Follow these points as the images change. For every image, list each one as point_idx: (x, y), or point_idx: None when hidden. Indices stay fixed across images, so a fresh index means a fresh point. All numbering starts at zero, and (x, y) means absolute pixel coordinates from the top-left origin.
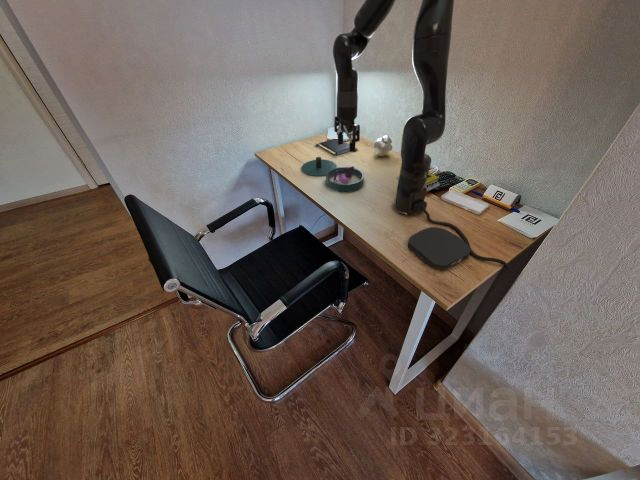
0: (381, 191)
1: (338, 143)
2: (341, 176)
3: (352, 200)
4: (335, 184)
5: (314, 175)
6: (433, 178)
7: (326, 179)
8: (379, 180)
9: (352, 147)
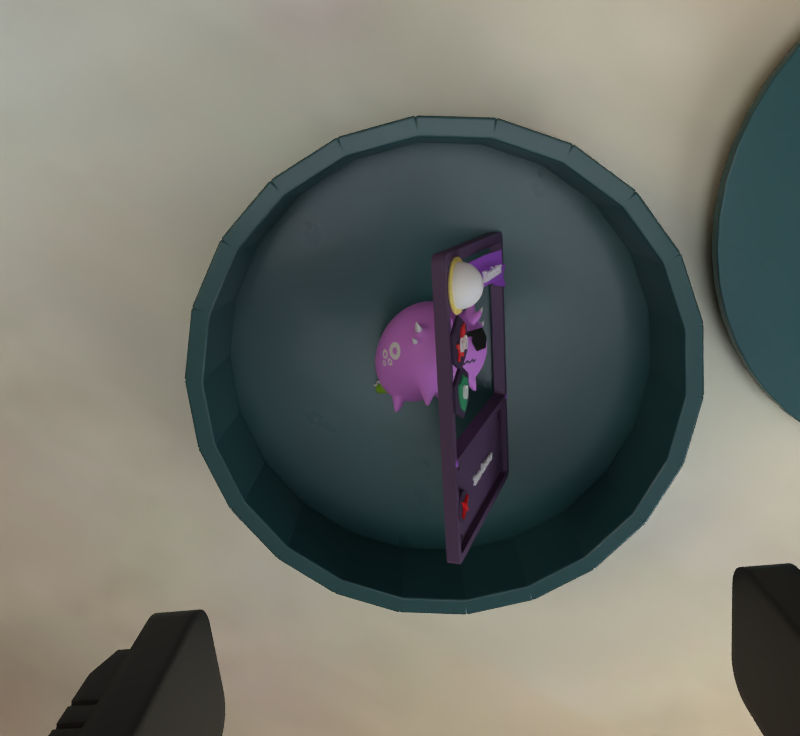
0: (104, 607)
1: (760, 576)
2: (415, 328)
3: (44, 263)
4: (286, 170)
5: (790, 55)
6: None
7: (489, 118)
8: (312, 697)
9: (60, 732)
